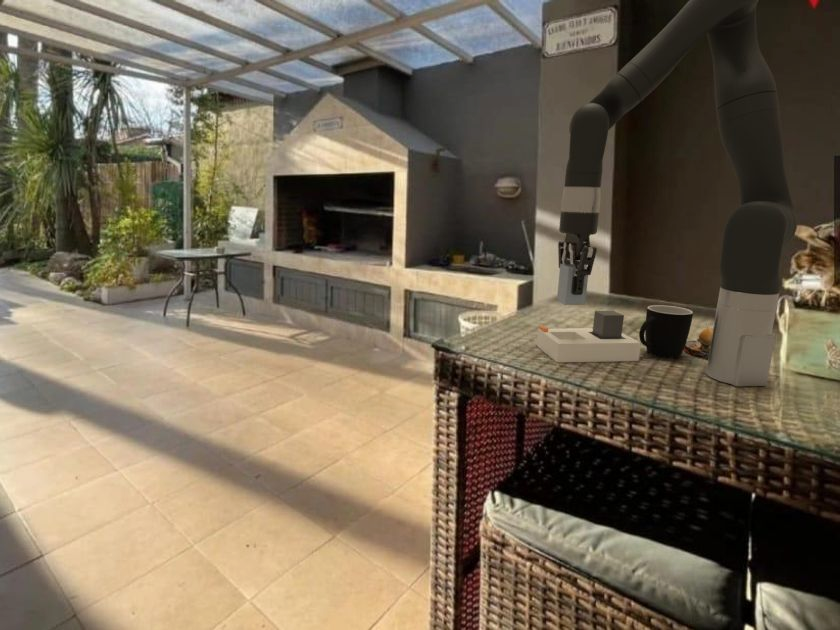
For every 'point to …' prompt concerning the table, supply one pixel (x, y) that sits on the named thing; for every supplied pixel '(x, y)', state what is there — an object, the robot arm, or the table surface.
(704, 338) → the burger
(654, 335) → the mug
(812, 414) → the table surface
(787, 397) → the table surface
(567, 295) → the plug
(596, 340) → the white socket base
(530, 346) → the table surface
